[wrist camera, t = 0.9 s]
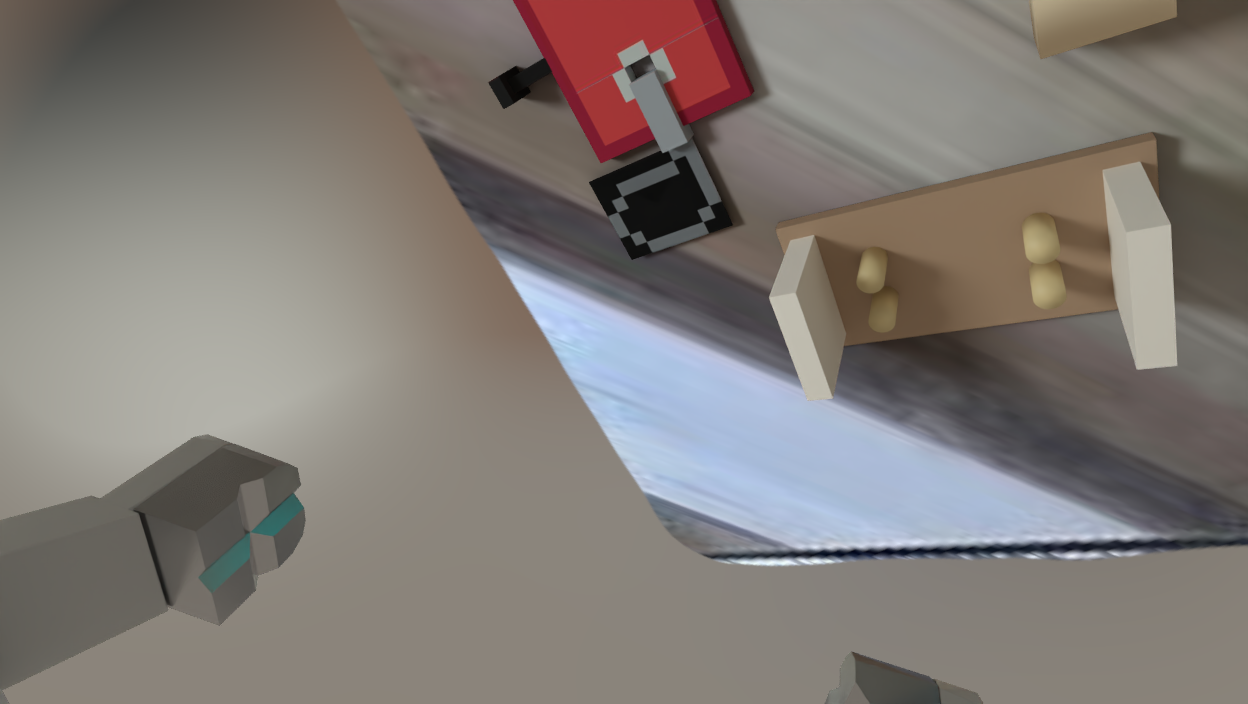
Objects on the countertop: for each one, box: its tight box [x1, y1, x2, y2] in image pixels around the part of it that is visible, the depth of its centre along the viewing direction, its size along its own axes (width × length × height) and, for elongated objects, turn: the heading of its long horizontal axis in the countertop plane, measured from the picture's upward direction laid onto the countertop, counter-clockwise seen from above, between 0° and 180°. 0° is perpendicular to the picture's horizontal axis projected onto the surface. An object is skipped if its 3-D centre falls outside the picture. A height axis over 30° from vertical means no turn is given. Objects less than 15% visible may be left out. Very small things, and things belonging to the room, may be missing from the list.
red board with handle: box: [488, 0, 754, 260], centre depth 41 cm, size 30×3×15 cm
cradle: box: [769, 132, 1177, 401], centre depth 39 cm, size 20×10×8 cm, turn 115°
